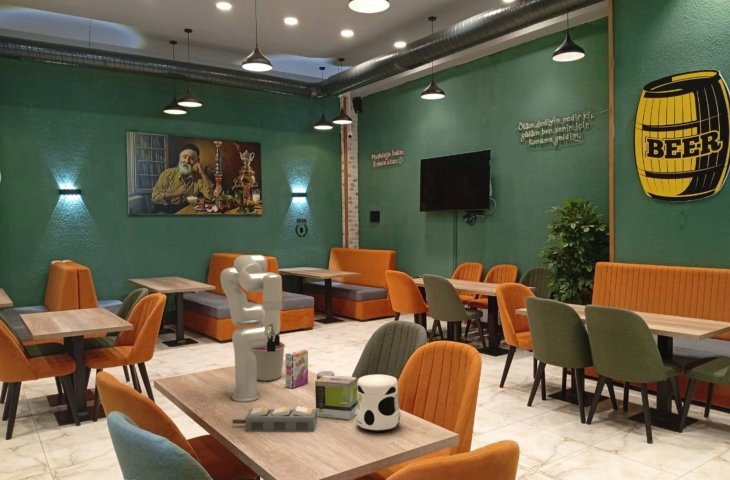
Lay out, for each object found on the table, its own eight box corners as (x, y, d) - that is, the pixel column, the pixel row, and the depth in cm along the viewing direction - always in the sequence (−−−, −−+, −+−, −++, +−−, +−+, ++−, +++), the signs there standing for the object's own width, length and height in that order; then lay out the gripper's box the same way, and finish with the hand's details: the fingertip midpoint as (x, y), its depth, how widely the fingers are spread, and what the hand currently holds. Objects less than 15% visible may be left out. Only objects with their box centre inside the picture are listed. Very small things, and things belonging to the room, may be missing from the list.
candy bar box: (293, 389, 254) (292, 354, 254) (285, 387, 257) (284, 353, 256) (308, 383, 263) (308, 350, 263) (301, 381, 266) (300, 348, 266)
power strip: (229, 431, 204) (229, 417, 204) (236, 422, 213) (236, 409, 213) (313, 431, 202) (313, 417, 202) (317, 422, 211) (316, 409, 211)
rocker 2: (273, 417, 205) (272, 413, 205) (275, 413, 210) (274, 408, 210) (288, 414, 205) (287, 410, 205) (290, 409, 210) (289, 405, 210)
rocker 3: (294, 414, 205) (295, 410, 204) (296, 409, 210) (297, 405, 209) (309, 417, 204) (310, 413, 204) (311, 413, 209) (312, 408, 209)
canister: (292, 375, 277) (292, 334, 277) (272, 385, 261) (272, 342, 260) (263, 371, 285) (262, 332, 284) (242, 381, 268) (241, 339, 268)
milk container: (349, 422, 211) (348, 376, 211) (389, 415, 218) (388, 371, 217) (365, 438, 195) (364, 389, 195) (408, 430, 202) (407, 383, 201)
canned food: (335, 394, 245) (335, 370, 245) (333, 400, 237) (332, 376, 237) (319, 394, 246) (318, 370, 245) (315, 400, 238) (315, 375, 237)
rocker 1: (251, 417, 205) (250, 413, 205) (254, 413, 210) (253, 408, 210) (266, 414, 205) (265, 410, 205) (269, 409, 210) (268, 405, 210)
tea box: (358, 412, 222) (358, 376, 222) (349, 420, 213) (349, 383, 212) (325, 408, 227) (324, 373, 227) (315, 416, 218) (314, 380, 217)
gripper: (267, 302, 222) (268, 343, 223) (258, 309, 205) (259, 353, 205) (285, 302, 222) (286, 343, 222) (278, 308, 205) (279, 353, 205)
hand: (273, 348), depth 214 cm, fingers open, 9 cm apart
